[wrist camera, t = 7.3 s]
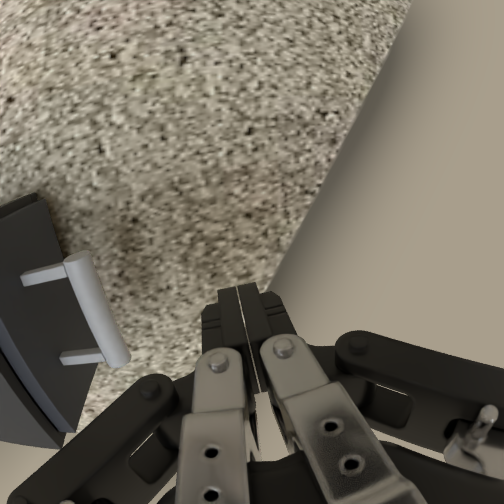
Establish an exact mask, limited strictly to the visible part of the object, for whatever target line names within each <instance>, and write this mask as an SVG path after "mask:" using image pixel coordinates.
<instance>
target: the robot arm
mask: <svg viewBox="0 0 504 504" xmlns="http://www.w3.org/2000/svg"><path fill="white" fill-rule="evenodd" d="M237 287H238V292H239V297H240V301H241V306H242V310H243V315H244V320H245V324H246V329H247V333H248V337H249V341H250V346H251V350H252V354H253V358H254V363H255V367H256V371H257V375H258V379H259V383H260V387H261V392H267V391H268V394H269V398H270V402H271V407H272V411H273V414H274V416H275V419H276V421H277V424H278V427H279V429H280V432H281V434H282V437H283V440H284V442H285V445H286V447H287V450H288V452H289V456H287V457H285V458H282V459H280V460H277V461H262V457H261V449H260V441H259V432H258V423H257V414H256V410H255V408H256V402H255V397H254V394H258V393H260V392H259V388H258V384H257V379H256V375H255V371H254V367H253V362H252V358H251V353H250V349H249V345H248V340H247V336H246V331H245V327H244V322H243V318H242V313H241V309H240V304H239V300H238V295H237V291H236V286H234V287H229V288H225V289H220V290H217V292H218V302H219V303H214V304H209V305H206V307H205V308H204V310H203V312H202V313H201V322H202V355H201V356H200V357H199V359H198V360H197V362H196V368H195V370H194V371H193V372H192V373H190V374H189V375H187V376H185V377H182V378H180V379H177V380H175V381H172V380H171V379H170V378H169V377H168V376H166V375H163V374H150V375H146V376H144V377H142V378H140V379H139V380H137V381H136V382H135V383H134V384H133V385H132V386H131V387H129V388H128V389H127V390H126V391H125V392H124V393H123V394H122V395H121V396H120V397H119V398H117V399H116V400H115V401H114V402H113V403H112V404H111V405H110V406H109V407H108V408H106V409H105V410H104V411H103V412H102V413H101V414H100V415H99V416H98V417H96V418H95V419H94V420H93V421H92V422H91V423H90V424H89V425H88V426H86V427H85V428H84V429H83V430H82V431H81V432H80V433H79V434H77V435H76V436H75V437H74V438H73V439H72V440H71V441H70V442H69V443H67V444H66V445H65V446H64V447H63V448H62V449H61V450H60V451H58V452H57V453H56V454H55V455H54V456H53V457H52V458H50V459H49V460H48V461H47V462H46V463H45V464H44V465H42V466H41V467H40V468H39V469H38V470H37V471H36V472H34V473H33V474H32V475H31V476H30V477H29V478H28V479H26V480H25V481H24V482H23V483H22V484H21V485H19V486H18V487H17V488H16V489H15V490H14V491H13V492H12V493H11V494H10V496H9V497H8V500H7V504H148V503H149V502H150V501H151V500H152V499H153V498H154V497H155V496H156V494H157V493H158V492H159V491H160V490H161V489H162V488H163V487H164V486H165V485H166V484H167V482H168V481H169V480H170V479H171V478H172V477H173V476H174V474H175V473H176V472H177V479H176V486H175V487H173V488H172V489H170V490H169V491H168V492H167V493H166V494H165V495H164V496H163V497H162V498H161V499H160V500H159V501H158V503H157V504H504V369H503V368H499V367H495V366H491V365H487V364H483V363H479V362H475V361H471V360H467V359H463V358H460V357H456V356H452V355H448V354H445V353H441V352H437V351H434V350H430V349H426V348H423V347H419V346H415V345H412V344H409V343H405V342H402V341H398V340H395V339H391V338H388V337H384V336H381V335H378V334H375V333H371V332H368V331H362V330H357V331H351V332H347V333H345V334H343V335H342V336H340V337H339V338H338V340H337V341H336V343H335V346H313V345H309V344H307V343H306V342H305V340H304V339H303V338H301V337H299V336H298V335H297V333H296V331H295V329H294V327H293V324H292V322H291V320H290V318H289V316H288V314H287V312H286V309H285V307H284V305H283V303H282V300H281V298H280V297H279V296H278V295H276V294H275V293H273V292H272V291H270V292H265V293H261V294H259V291H258V288H257V285H256V282H253V283H248V284H243V285H239V286H237ZM376 384H378V385H381V386H384V387H387V388H389V389H392V390H395V391H398V392H401V393H405V394H406V395H404V394H400V393H398V392H395V391H392V390H389V389H386V388H384V387H381V386H378V385H376ZM407 395H408V396H407ZM371 428H372V429H374V430H377V431H380V432H382V433H385V434H387V435H390V436H393V437H396V438H398V439H401V440H404V441H406V442H409V443H412V444H415V445H418V446H421V447H424V448H427V449H430V450H433V451H436V452H439V453H442V454H443V455H444V459H445V461H446V463H445V462H442V461H439V460H436V459H433V458H430V457H428V456H425V455H422V454H420V453H417V452H415V451H412V450H410V449H407V448H405V447H402V446H400V445H397V444H394V443H391V442H387V441H381V440H378V439H377V437H376V436H375V435H374V433H373V431H372V430H371ZM152 433H153V434H152ZM151 434H152V435H151ZM150 435H151V436H150ZM149 436H150V437H149ZM148 437H149V438H148ZM147 438H148V439H147ZM146 439H147V440H146ZM145 440H146V441H145ZM144 441H145V442H144ZM143 442H144V443H143ZM142 443H143V445H142V446H141V447H140V448H139V449H138V450H137V451H136V452H135V453H134V454H133V455H132V456H131V454H132V453H133V452H134V451H135V450H136V449H137V448H138V447H139V446H140V445H141V444H142ZM130 456H131V457H130Z"/></svg>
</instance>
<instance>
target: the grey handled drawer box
mask: <svg viewBox="0 0 504 504" xmlns="http://www.w3.org/2000/svg"><path fill="white" fill-rule="evenodd" d="M37 201H38V200H37V196H36V193H35V192H34V193H31V194H29V195H26V196H24V197H21V198H19V199H16V200H14V201H11V202H9V203H6V204H4V205H2V206H0V219H1V218H3V217H5V216H7V215H9V214H11V213H13V212H15V211H17V210H19V209H21V208H23V207H25V206H27V205H29V204H32V203H34V202H37ZM66 433H67V432H60V431H59V430H58V429H57V428H56V427H55V425H54V424H53V423H52V422H51V421H50V419H49V418H48V417H47V416H46V414H45V413H44V412H43V410H42V412H41V411H40V410H39V408H38V407H37V406H36V405H35V403H34V402H33V401H32V399H31V398H30V396H29V395H28V394H27V392H26V391H25V389H24V388H23V387H22V385H21V384H20V382H19V381H18V379H17V378H16V376H15V375H14V373H13V372H12V370H11V368H10V367H9V365H8V364H7V362H6V360H5V359H4V357H3V356H2V354H1V352H0V441H4V442H9V443H14V444H20V445H26V446H34V447H41V448H49V449H60V450H61V449H62V447H63V444H64V439H65V436H66Z"/></svg>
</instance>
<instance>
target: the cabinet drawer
mask: <svg viewBox="0 0 504 504" xmlns="http://www.w3.org/2000/svg"><path fill="white" fill-rule="evenodd" d="M0 352H1V354H2V356H3V357H4V359H5V360H6V362H7V364H8V365H9V367H10V368H11V370H12V372H13V373H14V375H15V376H16V378H17V379H18V381H19V382H20V384H21V385H22V387H23V388H24V389H25V391H26V392H27V394H28V395H29V396H30V398H31V399H32V401H33V402H34V403H35V405H36V406H37V407H38V408H39V410H40V411H41V412H42V410H43V412H44V413H45V414H46V416H47V417H48V418H49V419H50V421H51V422H52V423H53V424H54V425H55V427H56V428H57V429H58V430H59V431H60V432H68V433H76V430H77V427H78V423H79V420H80V416H81V413H82V410H83V407H84V404H85V400H86V397H87V394H88V391H89V388H90V385H91V382H92V379H93V376H94V374H95V371H96V368H97V365H98V362H105V361H107V363H108V365H109V366H110V367H112V368H120V367H123V366H125V365H126V364H127V363H129V361H130V360H131V354H130V351H129V349H128V347H127V345H126V343H125V341H124V338H123V336H122V334H121V332H120V329H119V327H118V325H117V322H116V320H115V318H114V315H113V313H112V310H111V308H110V305H109V303H108V300H107V298H106V295H105V293H104V290H103V287H102V285H101V282H100V279H99V276H98V274H97V271H96V268H95V265H94V262H93V259H92V256H91V253H90V251H89V250H84V251H79V252H76V253H74V254H72V255H70V256H68V257H67V258H65V259H64V258H63V255H62V253H61V250H60V247H59V243H58V240H57V237H56V234H55V231H54V227H53V224H52V221H51V217H50V214H49V210H48V206H47V202H46V199H42V200H40V201H37V202H34V203H32V204H29V205H27V206H25V207H23V208H21V209H19V210H17V211H15V212H13V213H11V214H9V215H7V216H5V217H3V218H1V219H0Z"/></svg>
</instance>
